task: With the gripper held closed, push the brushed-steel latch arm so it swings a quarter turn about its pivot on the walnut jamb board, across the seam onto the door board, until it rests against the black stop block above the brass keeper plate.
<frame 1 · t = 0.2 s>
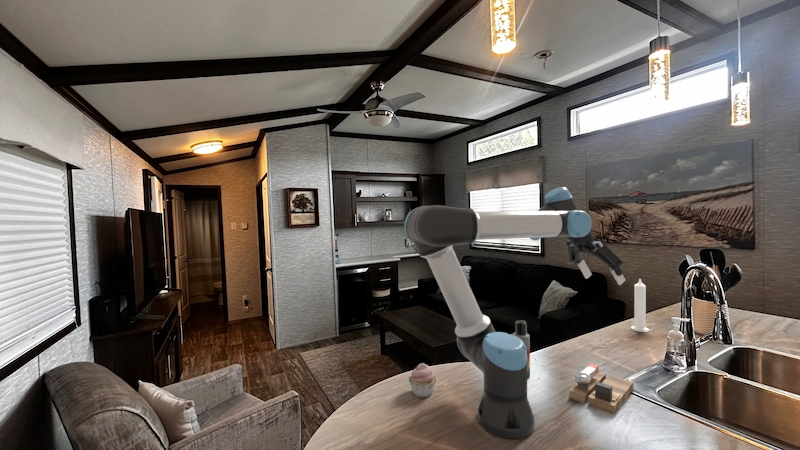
hand: (604, 279, 120), 34 cm above the table, tool tilted 35°, fingers open, 13 cm apart
lotion bottle: (521, 376, 123), on the table
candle: (640, 330, 167), on the table
door boards: (601, 393, 110), on the table
latch arm: (587, 374, 112), point 5 cm above the table, hinge at 90.0°
cupcake: (423, 393, 113), on the table
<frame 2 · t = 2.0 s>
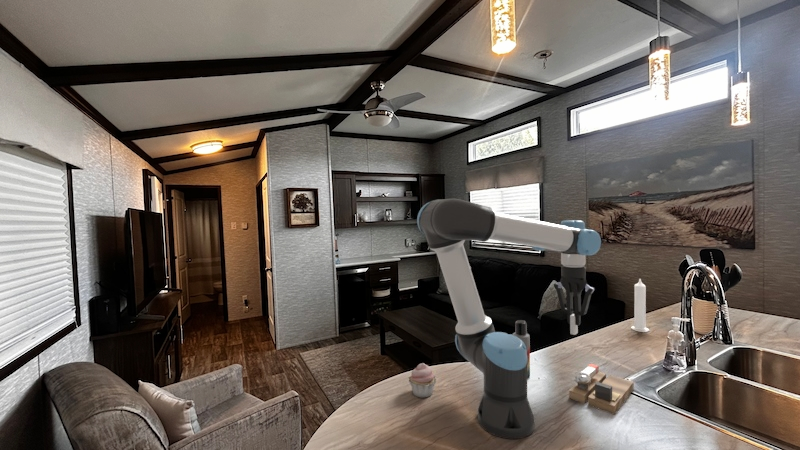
hand: (574, 333, 119), 16 cm above the table, tool pointing down, fingers closed
nothing on the table moved.
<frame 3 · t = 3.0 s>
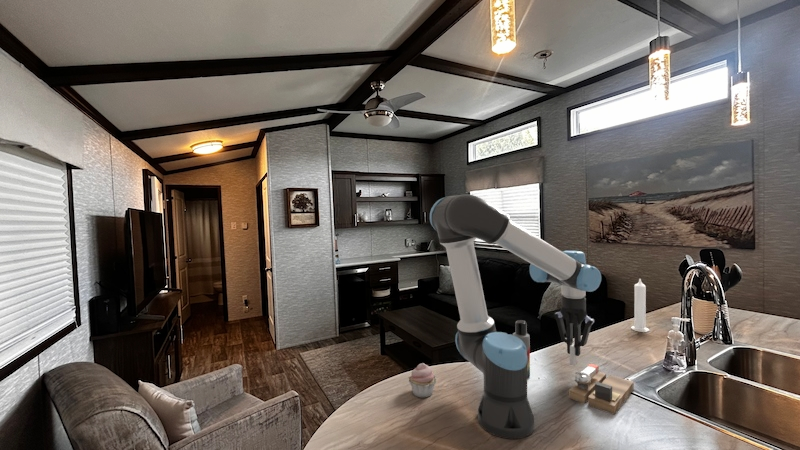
hand: (573, 363, 119), 6 cm above the table, tool pointing down, fingers closed
nothing on the table moved.
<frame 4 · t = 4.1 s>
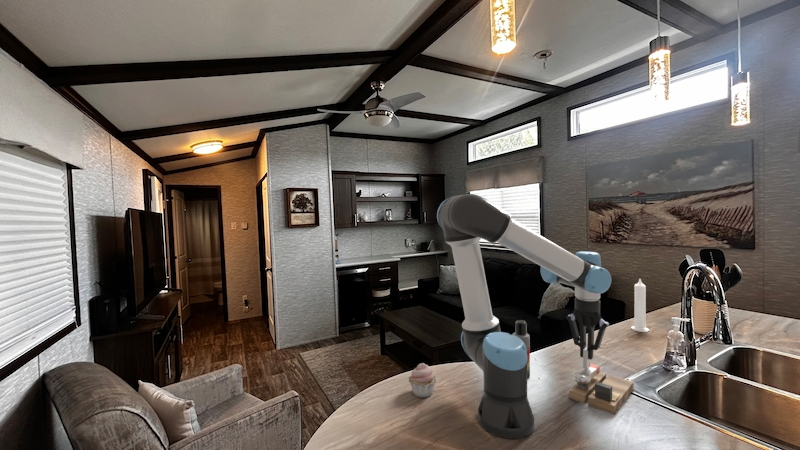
hand: (586, 367, 116), 6 cm above the table, tool pointing down, fingers closed
latch arm: (587, 374, 112), point 5 cm above the table, hinge at 88.2°, touching gripper
everything else where it was.
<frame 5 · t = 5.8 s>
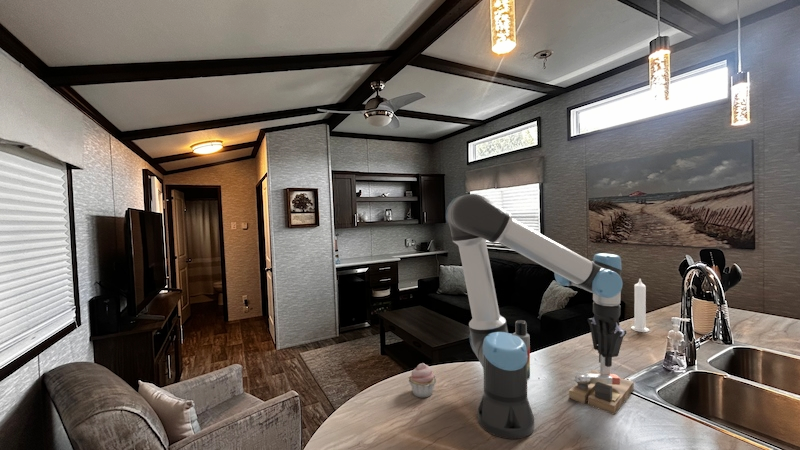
hand: (605, 374, 111), 6 cm above the table, tool pointing down, fingers closed
latch arm: (596, 378, 109), point 5 cm above the table, hinge at 41.4°, touching gripper
everything else where it was.
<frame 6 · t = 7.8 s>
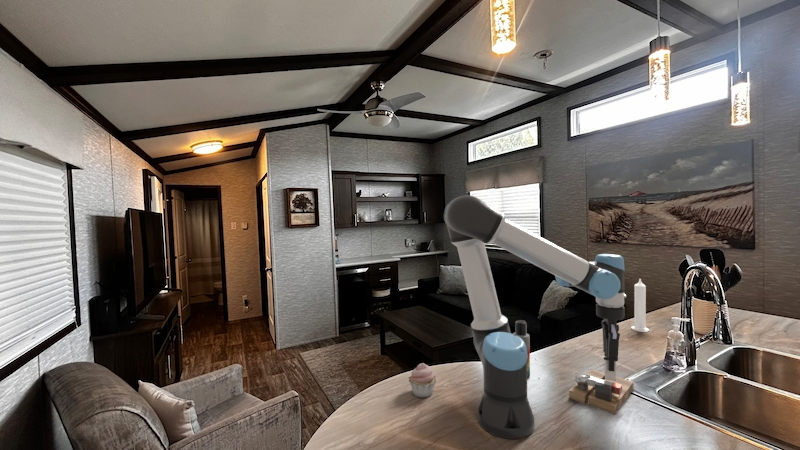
hand: (610, 379, 107), 6 cm above the table, tool pointing down, fingers closed
latch arm: (597, 382, 107), point 5 cm above the table, hinge at 1.5°
everything else where it was.
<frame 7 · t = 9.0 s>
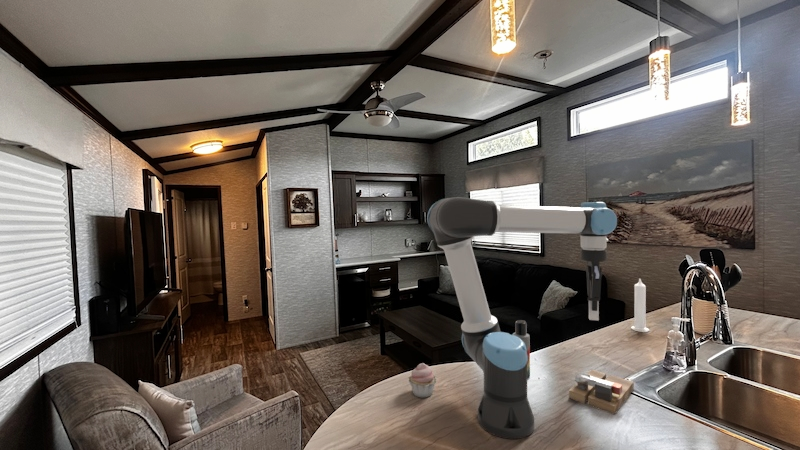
hand: (593, 319, 115), 22 cm above the table, tool pointing down, fingers closed
nothing on the table moved.
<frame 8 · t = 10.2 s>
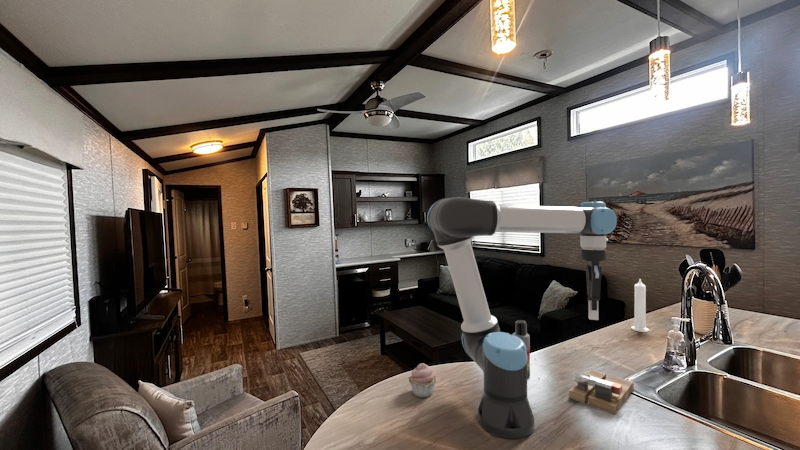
hand: (593, 319, 115), 22 cm above the table, tool pointing down, fingers closed
nothing on the table moved.
at the end: latch arm at +2° (first picture: +90°); the gripper is holding nothing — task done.
